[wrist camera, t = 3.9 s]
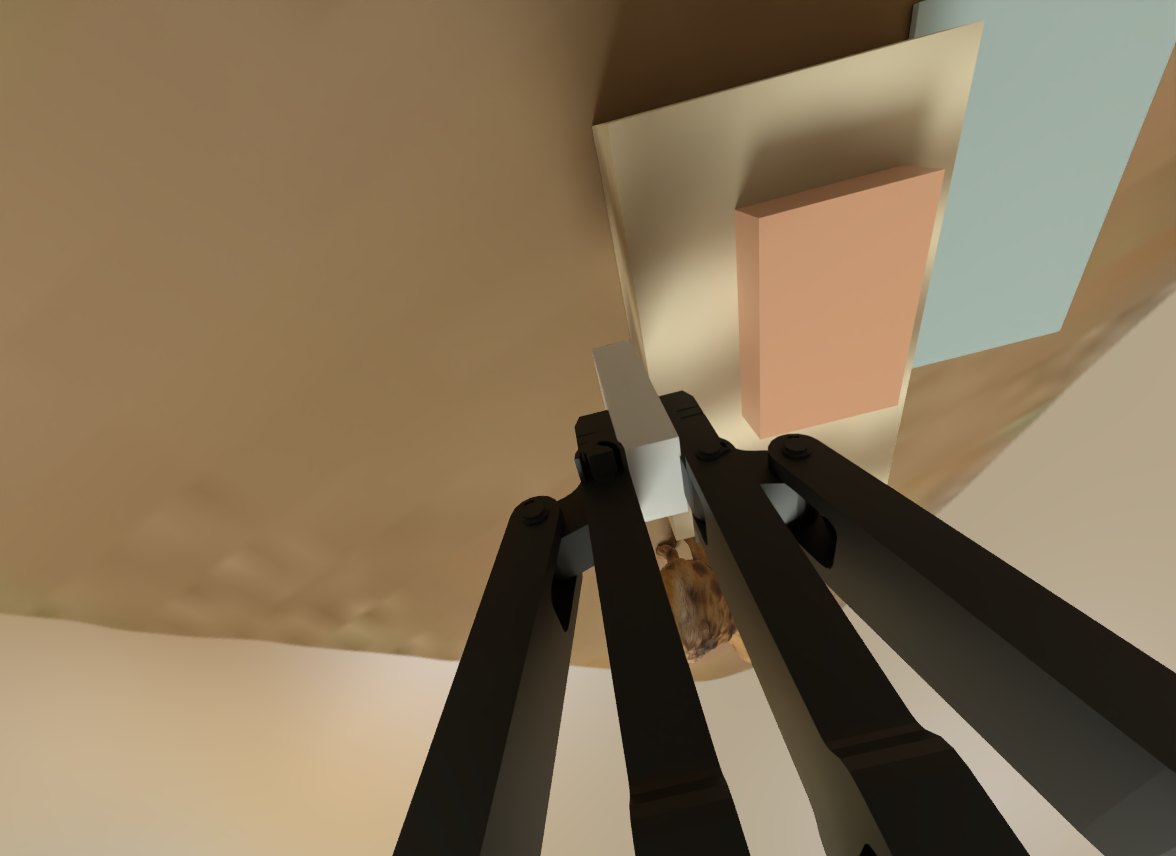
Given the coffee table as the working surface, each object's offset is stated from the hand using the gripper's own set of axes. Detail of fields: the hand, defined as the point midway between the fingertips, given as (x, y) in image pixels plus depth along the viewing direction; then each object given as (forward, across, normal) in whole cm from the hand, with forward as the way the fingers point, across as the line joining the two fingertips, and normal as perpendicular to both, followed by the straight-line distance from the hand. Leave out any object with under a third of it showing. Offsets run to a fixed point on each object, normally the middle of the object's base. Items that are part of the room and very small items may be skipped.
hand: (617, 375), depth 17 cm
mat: (+5, +19, +1) cm, 20 cm away
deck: (+5, +8, -2) cm, 9 cm away
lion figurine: (+6, +3, -19) cm, 20 cm away
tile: (+1, +8, 0) cm, 9 cm away
